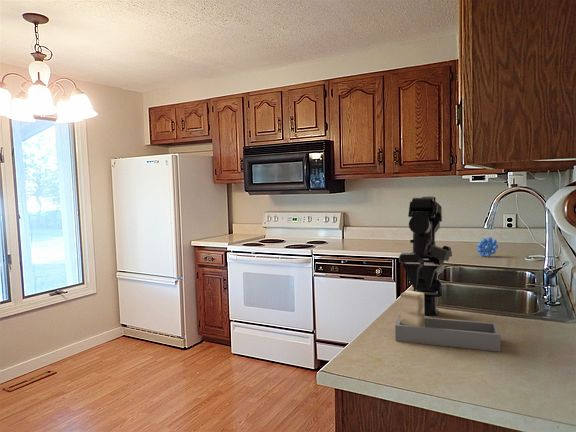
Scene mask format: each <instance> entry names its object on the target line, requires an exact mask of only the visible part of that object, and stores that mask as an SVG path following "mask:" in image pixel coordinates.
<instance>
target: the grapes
mask: <svg viewBox="0 0 576 432" xmlns="http://www.w3.org/2000/svg"><path fill="white" fill-rule="evenodd" d="M497 243H498V241H497V239H493V237H491V236H488V237H487V238H486V237H484V238H482V239H481V240H480V241H479V242H478V243H477V248H476V252H477V253H479V255H480V257H484V256H485V257H486V256H489V257H491V255H495V254H496V252H497V250H498V249H499V244H497Z"/></svg>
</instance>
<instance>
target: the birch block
mask: <svg viewBox="0 0 576 432" xmlns="http://www.w3.org/2000/svg"><path fill="white" fill-rule="evenodd" d="M400 315H401V325H409V326H420V327H425V317H426V316H425V314H424V293H422V292H415V291H414V290H406V291H404V292H401V293H400Z"/></svg>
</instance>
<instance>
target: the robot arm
mask: <svg viewBox="0 0 576 432" xmlns="http://www.w3.org/2000/svg"><path fill="white" fill-rule="evenodd" d="M407 217H408V218H410V219H409V222H408V227H409V230H410V231H411V232H412V239H410V240H409V241H410V244H412V252H401V253H400V255H399V257H398V262H399V263H401V266H402V267H403V268H404V271H405V273H406V275H407V277H408V279H409V281H410V283H411V284H410V285H411V286H412V288H413V291H415V292H422V293H424V315H426V316H427V315H430V316H438V310H439V309H438V308H437V298H441V297H443V284H442V283H441V280H440V279H439V277H438V272H437V271H438V270H439V269H441V268H442V266H444V265H445V263H444V262H445V261H446V262H449V260H450V258H451V257H453V254H452V253H453V251H452V248H451V246H447V245H443V246H442V247H441V246H438V245H436V233H437V232H438V231H439V229H440V228H441V222H443V208H442V206H441V205H440V204H439V203H438V202H437V197H436V196H422V197H413V198H412V199H411V201H409V207H408V216H407Z"/></svg>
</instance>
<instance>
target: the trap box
mask: <svg viewBox="0 0 576 432" xmlns="http://www.w3.org/2000/svg"><path fill="white" fill-rule="evenodd" d="M394 327H395V331H394V333H395V341H396V342H405V343H415V344H424V345H432V346H433V345H434V346H442V347H449V348H450V347H452V348H461V349H471V350H479V351H480V350H481V351H490V352H499V353H500V352H501V333H500V329H499V326H498V323H497V322H490V321H489V322H487V321H475V320H463V319H452V318H451V319H449V318H442V317H441V318H439V317H427V316H425V327H420V326H409V325H401V314H400V315H398V318H397V321H396V322H395V326H394Z"/></svg>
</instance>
